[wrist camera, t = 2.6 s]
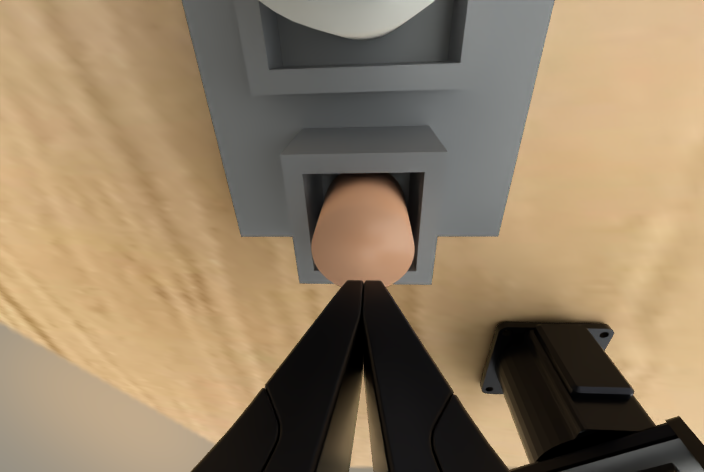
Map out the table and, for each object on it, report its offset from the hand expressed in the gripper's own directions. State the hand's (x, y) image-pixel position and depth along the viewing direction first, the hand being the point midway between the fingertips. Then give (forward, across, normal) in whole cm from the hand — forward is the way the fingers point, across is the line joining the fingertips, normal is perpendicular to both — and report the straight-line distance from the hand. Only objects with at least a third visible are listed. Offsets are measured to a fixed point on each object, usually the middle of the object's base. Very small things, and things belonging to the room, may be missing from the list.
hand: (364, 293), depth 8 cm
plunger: (+5, 0, 0) cm, 5 cm away
